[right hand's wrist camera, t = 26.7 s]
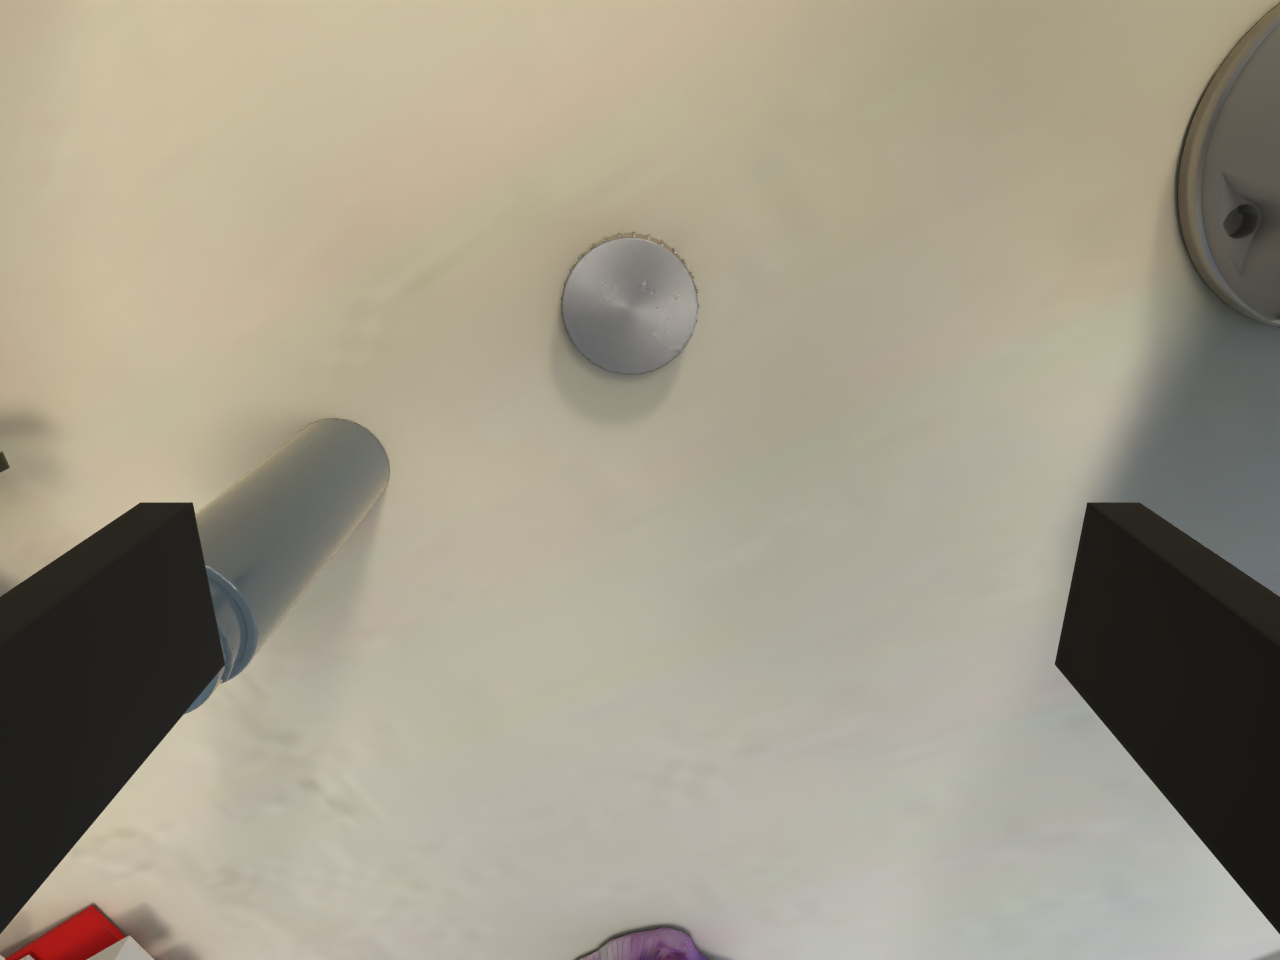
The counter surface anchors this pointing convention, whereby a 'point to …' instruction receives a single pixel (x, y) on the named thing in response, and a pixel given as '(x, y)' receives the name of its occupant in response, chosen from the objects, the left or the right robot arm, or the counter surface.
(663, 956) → the figurine
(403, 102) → the counter surface
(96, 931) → the toy
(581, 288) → the lid
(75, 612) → the right robot arm
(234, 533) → the jar
